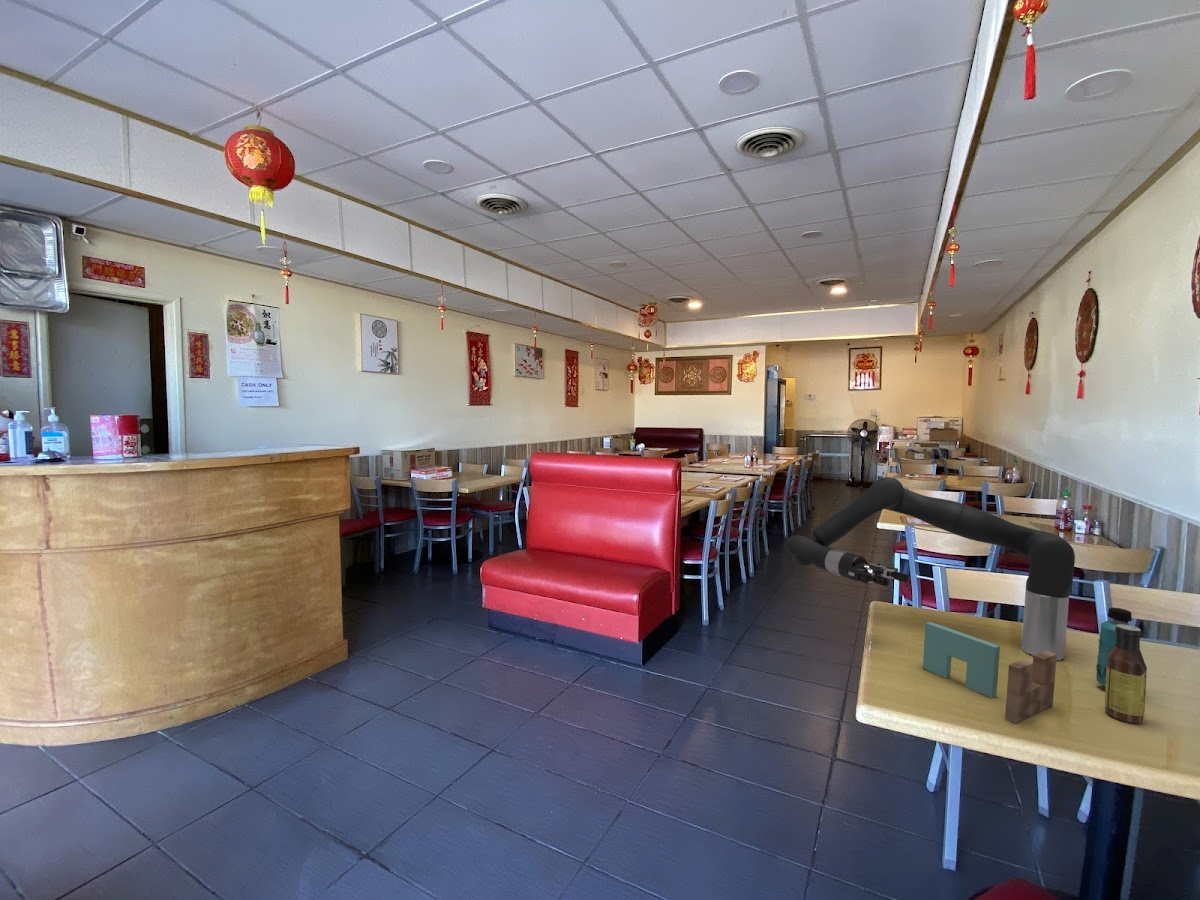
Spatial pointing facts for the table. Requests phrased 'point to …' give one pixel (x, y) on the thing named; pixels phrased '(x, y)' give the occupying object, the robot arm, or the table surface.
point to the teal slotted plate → (962, 657)
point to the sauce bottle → (1126, 676)
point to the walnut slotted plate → (1030, 686)
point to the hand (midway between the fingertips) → (898, 580)
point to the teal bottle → (1109, 640)
